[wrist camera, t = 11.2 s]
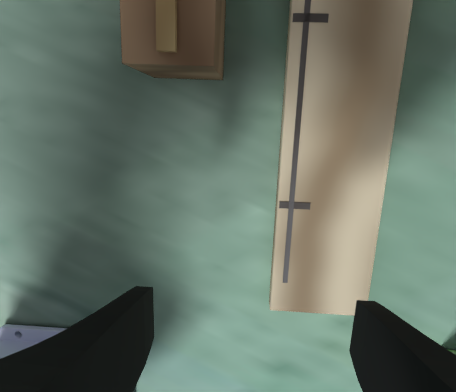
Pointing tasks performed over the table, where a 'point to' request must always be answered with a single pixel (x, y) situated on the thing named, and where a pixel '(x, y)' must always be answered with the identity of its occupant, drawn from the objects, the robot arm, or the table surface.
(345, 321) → the table surface
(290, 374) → the table surface
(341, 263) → the birch plank
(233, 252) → the table surface
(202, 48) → the brown small block
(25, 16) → the table surface
